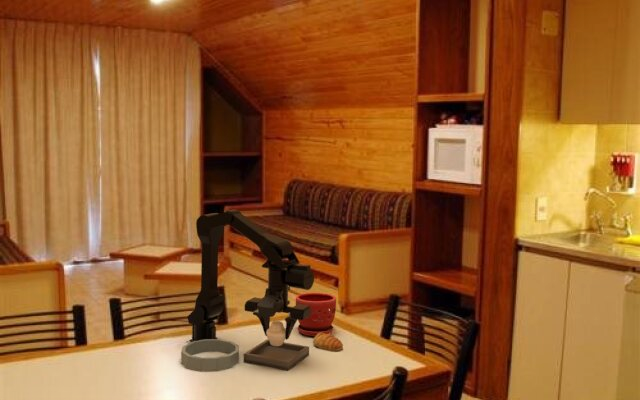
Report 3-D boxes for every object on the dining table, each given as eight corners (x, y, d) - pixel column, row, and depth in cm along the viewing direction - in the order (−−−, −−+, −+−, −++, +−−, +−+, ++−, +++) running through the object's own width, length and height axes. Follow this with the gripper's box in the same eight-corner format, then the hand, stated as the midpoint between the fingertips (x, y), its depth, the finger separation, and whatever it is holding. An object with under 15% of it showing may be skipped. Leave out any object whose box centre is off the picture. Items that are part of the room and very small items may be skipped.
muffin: (284, 349, 186) (284, 325, 185) (263, 346, 187) (263, 322, 186) (289, 342, 192) (290, 318, 191) (269, 339, 193) (269, 316, 192)
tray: (243, 362, 187) (243, 353, 186) (266, 347, 199) (267, 339, 199) (287, 371, 181) (288, 362, 181) (309, 354, 194) (309, 346, 193)
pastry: (348, 348, 201) (348, 336, 200) (333, 354, 196) (334, 342, 195) (324, 341, 207) (325, 329, 206) (310, 346, 202) (310, 334, 201)
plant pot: (343, 332, 215) (344, 296, 214) (315, 341, 206) (316, 304, 204) (314, 323, 224) (315, 289, 223) (286, 331, 214) (287, 295, 213)
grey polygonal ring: (170, 364, 183) (170, 352, 183) (202, 347, 198) (202, 336, 197) (219, 375, 177) (219, 362, 177) (249, 356, 192) (249, 344, 191)
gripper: (235, 286, 184) (234, 340, 186) (295, 295, 177) (293, 351, 178) (254, 278, 194) (253, 329, 196) (312, 286, 187) (310, 339, 189)
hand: (276, 337), depth 189 cm, fingers closed on muffin, 6 cm apart
